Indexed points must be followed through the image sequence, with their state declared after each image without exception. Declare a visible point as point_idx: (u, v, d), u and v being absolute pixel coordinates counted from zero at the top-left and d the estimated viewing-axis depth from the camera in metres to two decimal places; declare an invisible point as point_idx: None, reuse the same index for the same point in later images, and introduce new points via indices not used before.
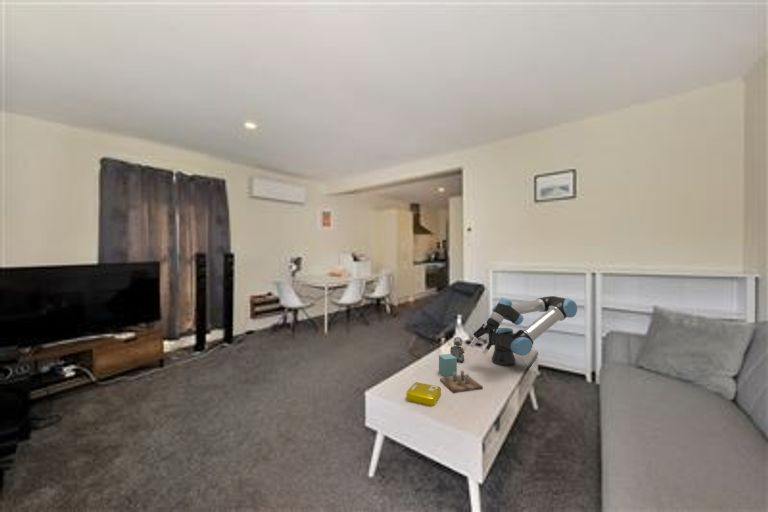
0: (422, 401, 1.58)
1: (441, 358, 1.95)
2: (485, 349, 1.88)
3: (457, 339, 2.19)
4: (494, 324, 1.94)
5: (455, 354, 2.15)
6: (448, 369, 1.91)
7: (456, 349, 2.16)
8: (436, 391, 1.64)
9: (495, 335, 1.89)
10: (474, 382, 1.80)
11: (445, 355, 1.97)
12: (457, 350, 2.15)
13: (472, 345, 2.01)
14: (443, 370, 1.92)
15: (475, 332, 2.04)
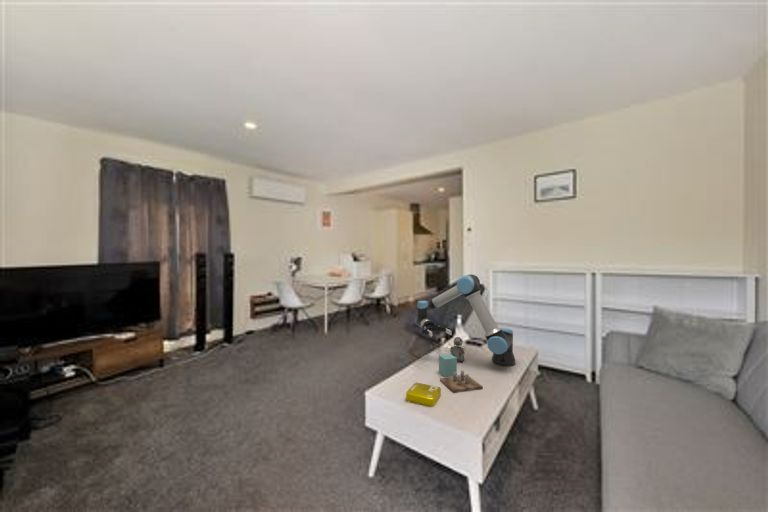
0: (422, 402, 1.58)
1: (441, 358, 1.95)
2: (429, 334, 2.04)
3: (457, 339, 2.19)
4: None
5: (455, 354, 2.16)
6: (448, 369, 1.91)
7: (456, 349, 2.16)
8: (436, 391, 1.63)
9: None
10: (474, 382, 1.80)
11: (445, 355, 1.97)
12: (457, 350, 2.15)
13: (449, 332, 2.07)
14: (443, 370, 1.92)
15: None
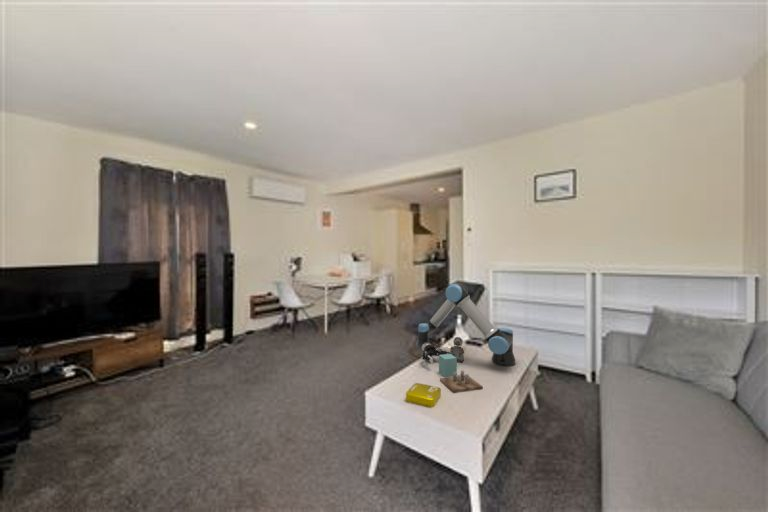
0: (421, 402, 1.57)
1: (441, 358, 1.95)
2: (430, 360, 2.03)
3: (457, 339, 2.19)
4: None
5: (455, 354, 2.16)
6: (448, 369, 1.91)
7: (456, 349, 2.16)
8: (436, 392, 1.63)
9: (423, 354, 2.12)
10: (474, 382, 1.80)
11: (445, 355, 1.97)
12: (457, 350, 2.15)
13: None
14: (443, 370, 1.92)
15: None
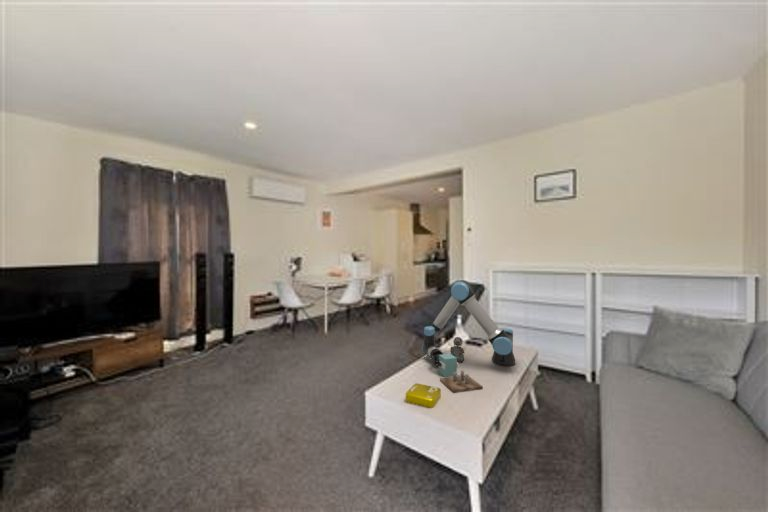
0: (421, 403, 1.57)
1: (441, 358, 1.95)
2: (442, 366, 1.92)
3: (457, 339, 2.19)
4: None
5: (455, 354, 2.15)
6: (448, 369, 1.91)
7: (456, 349, 2.16)
8: (436, 392, 1.62)
9: (431, 359, 2.02)
10: (474, 382, 1.80)
11: (445, 355, 1.97)
12: (457, 350, 2.15)
13: None
14: (443, 370, 1.92)
15: None
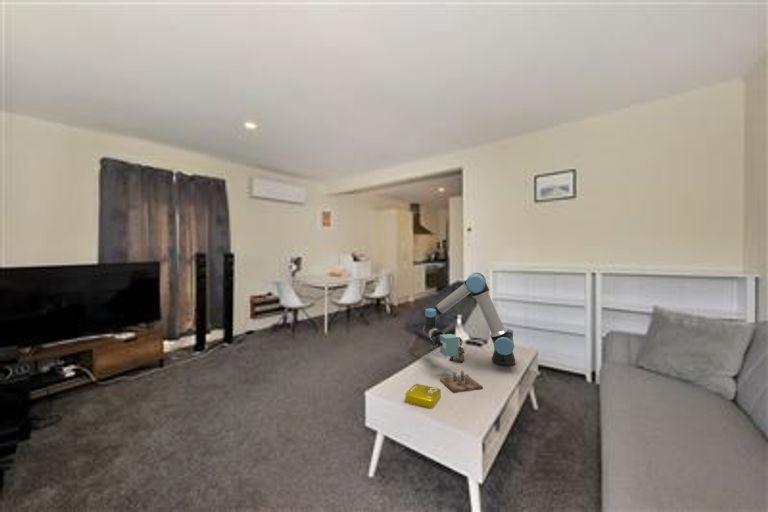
0: (421, 403, 1.56)
1: (442, 338, 1.92)
2: (443, 345, 1.89)
3: None
4: None
5: None
6: (449, 348, 1.88)
7: None
8: (436, 393, 1.61)
9: (432, 339, 1.99)
10: (474, 382, 1.80)
11: (446, 335, 1.94)
12: None
13: None
14: (444, 349, 1.89)
15: None
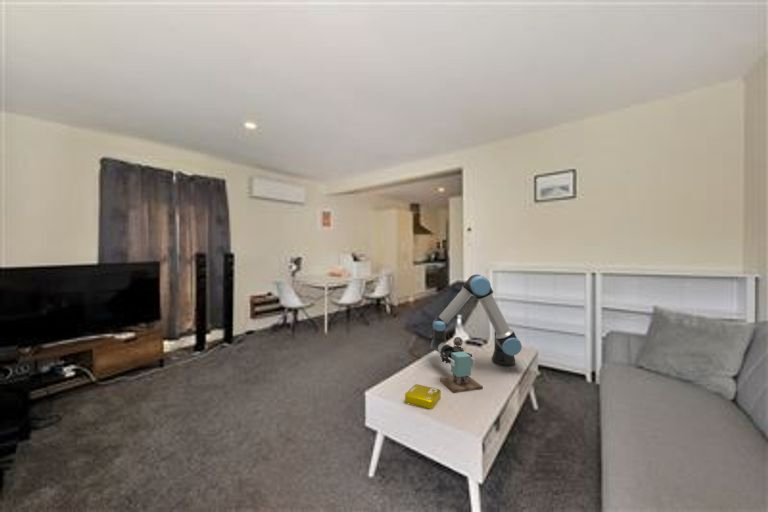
0: (420, 404, 1.56)
1: (454, 356, 1.79)
2: (451, 363, 1.77)
3: (457, 339, 2.19)
4: None
5: None
6: (461, 368, 1.76)
7: (456, 349, 2.16)
8: (435, 394, 1.61)
9: (441, 355, 1.87)
10: (474, 382, 1.80)
11: (458, 353, 1.82)
12: (457, 350, 2.15)
13: (472, 361, 1.79)
14: (456, 369, 1.77)
15: None
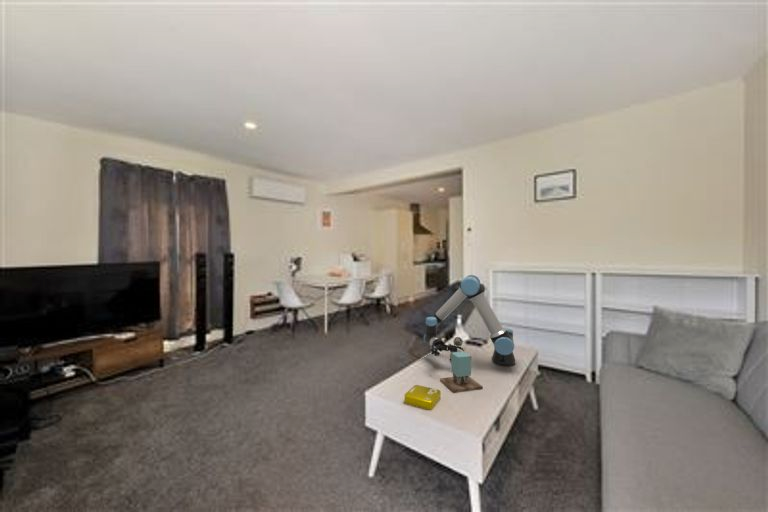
0: (420, 404, 1.55)
1: (454, 356, 1.79)
2: (439, 355, 1.90)
3: (457, 339, 2.19)
4: None
5: None
6: (461, 368, 1.76)
7: None
8: (435, 394, 1.60)
9: (431, 348, 1.99)
10: (474, 382, 1.80)
11: (458, 353, 1.82)
12: None
13: None
14: (456, 369, 1.77)
15: None
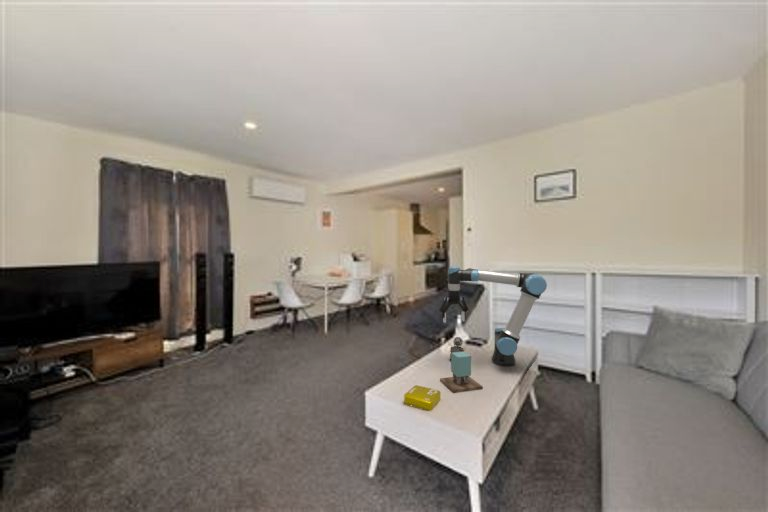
0: (419, 405, 1.54)
1: (454, 356, 1.79)
2: (443, 318, 2.09)
3: (457, 339, 2.19)
4: (448, 293, 2.10)
5: None
6: (461, 368, 1.76)
7: (456, 349, 2.16)
8: (435, 395, 1.59)
9: (443, 303, 2.08)
10: (474, 382, 1.80)
11: (458, 353, 1.82)
12: (457, 350, 2.15)
13: (462, 319, 2.12)
14: (456, 369, 1.77)
15: None
